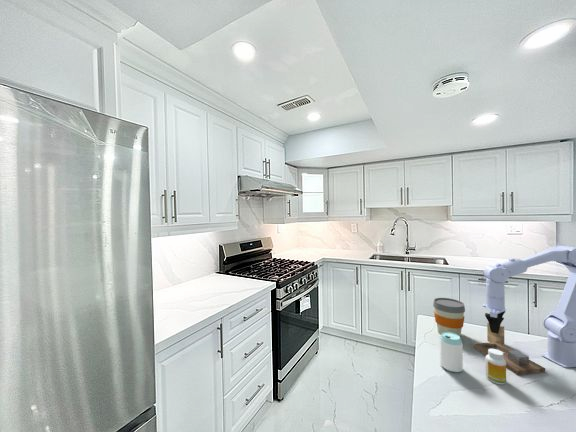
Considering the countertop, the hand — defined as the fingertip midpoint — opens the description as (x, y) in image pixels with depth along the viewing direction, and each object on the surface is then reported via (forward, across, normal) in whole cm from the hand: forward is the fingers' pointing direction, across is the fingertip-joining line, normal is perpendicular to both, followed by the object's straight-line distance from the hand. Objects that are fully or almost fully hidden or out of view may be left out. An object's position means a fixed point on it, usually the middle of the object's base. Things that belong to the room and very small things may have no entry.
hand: (495, 329), depth 99 cm
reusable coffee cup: (+10, -6, -17) cm, 21 cm away
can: (+10, +23, -11) cm, 27 cm away
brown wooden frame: (+10, +2, +3) cm, 10 cm away
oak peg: (+10, -10, -1) cm, 14 cm away
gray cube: (+10, +5, +7) cm, 13 cm away
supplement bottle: (+10, +20, +2) cm, 23 cm away
